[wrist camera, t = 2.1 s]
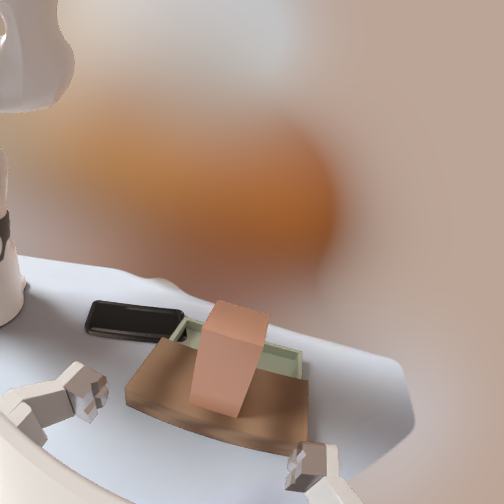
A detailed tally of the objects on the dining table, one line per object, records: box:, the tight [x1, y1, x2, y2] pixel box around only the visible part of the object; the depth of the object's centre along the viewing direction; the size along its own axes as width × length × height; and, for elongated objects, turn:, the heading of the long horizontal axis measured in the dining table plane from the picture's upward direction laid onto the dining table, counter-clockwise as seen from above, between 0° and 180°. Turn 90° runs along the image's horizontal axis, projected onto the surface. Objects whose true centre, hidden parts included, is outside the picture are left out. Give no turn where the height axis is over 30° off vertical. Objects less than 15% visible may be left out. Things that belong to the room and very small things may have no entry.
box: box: [169, 317, 302, 379], centre depth 36 cm, size 18×7×2 cm, turn 81°
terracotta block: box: [189, 300, 270, 418], centre depth 25 cm, size 5×5×10 cm
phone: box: [85, 300, 187, 343], centre depth 38 cm, size 8×1×15 cm
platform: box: [125, 337, 308, 456], centre depth 28 cm, size 19×10×3 cm, turn 81°
